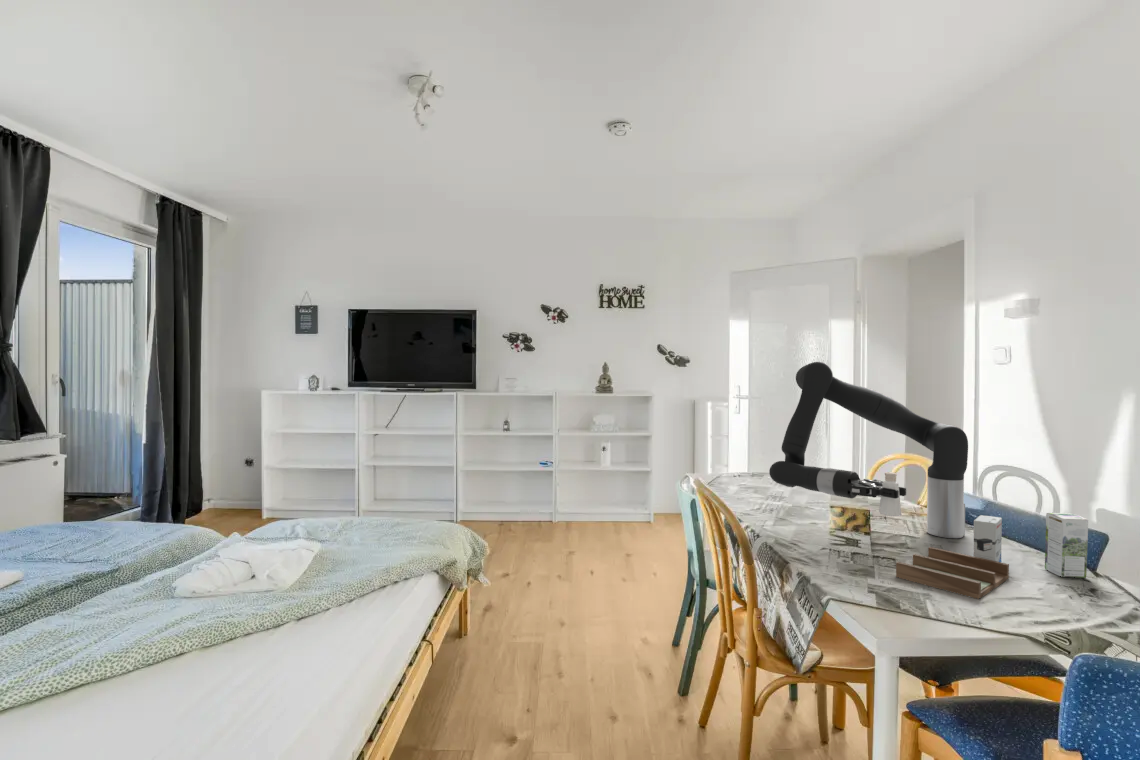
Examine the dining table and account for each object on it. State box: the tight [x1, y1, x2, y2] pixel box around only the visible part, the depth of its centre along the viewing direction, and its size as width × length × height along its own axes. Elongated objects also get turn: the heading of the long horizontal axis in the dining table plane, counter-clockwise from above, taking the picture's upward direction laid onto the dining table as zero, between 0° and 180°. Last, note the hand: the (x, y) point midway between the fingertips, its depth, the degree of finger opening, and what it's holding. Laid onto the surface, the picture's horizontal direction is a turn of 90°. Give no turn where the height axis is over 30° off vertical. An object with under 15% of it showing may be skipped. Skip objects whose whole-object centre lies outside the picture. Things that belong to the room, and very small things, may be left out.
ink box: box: [973, 514, 1003, 563], centre depth 148 cm, size 8×5×12 cm, turn 135°
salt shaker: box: [878, 471, 902, 517], centre depth 153 cm, size 5×5×11 cm
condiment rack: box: [895, 546, 1010, 600], centre depth 138 cm, size 20×17×4 cm
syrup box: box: [1044, 512, 1089, 579], centre depth 140 cm, size 6×6×14 cm
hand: (901, 493), depth 151 cm, fingers closed on salt shaker, 4 cm apart
